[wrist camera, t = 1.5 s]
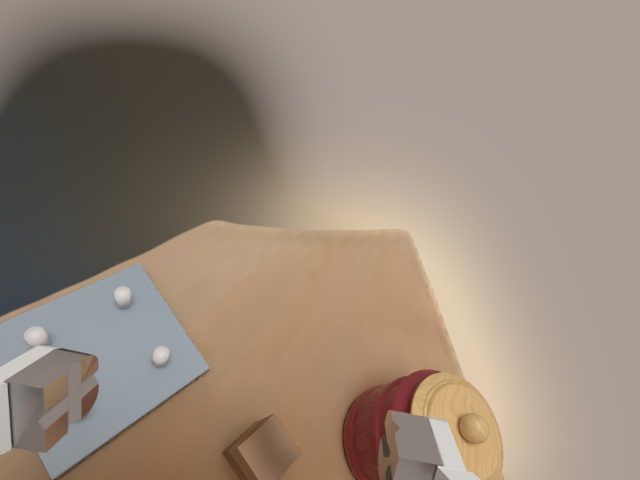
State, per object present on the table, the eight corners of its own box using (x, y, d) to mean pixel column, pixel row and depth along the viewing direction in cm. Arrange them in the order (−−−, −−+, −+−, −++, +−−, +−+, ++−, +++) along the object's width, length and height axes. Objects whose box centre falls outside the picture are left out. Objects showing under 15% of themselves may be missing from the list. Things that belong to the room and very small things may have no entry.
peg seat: (55, 479, 32) (44, 480, 28) (-19, 338, 35) (-36, 323, 31) (208, 370, 42) (213, 361, 38) (140, 268, 45) (139, 251, 41)
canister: (366, 369, 50) (448, 330, 37) (436, 428, 50) (545, 410, 36) (322, 456, 42) (406, 447, 28) (405, 528, 41) (532, 554, 28)
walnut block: (245, 489, 37) (266, 491, 31) (222, 452, 38) (237, 448, 32) (277, 456, 40) (301, 453, 34) (254, 422, 41) (274, 413, 35)
